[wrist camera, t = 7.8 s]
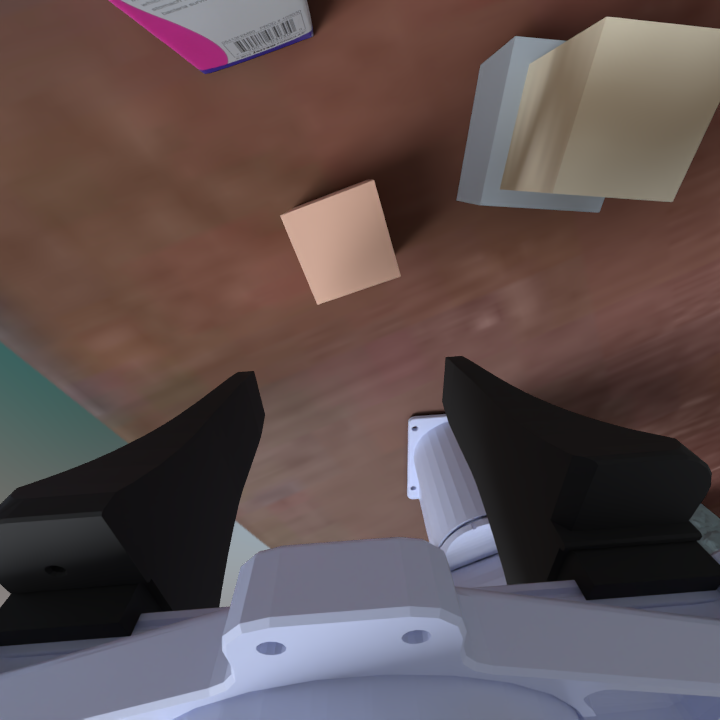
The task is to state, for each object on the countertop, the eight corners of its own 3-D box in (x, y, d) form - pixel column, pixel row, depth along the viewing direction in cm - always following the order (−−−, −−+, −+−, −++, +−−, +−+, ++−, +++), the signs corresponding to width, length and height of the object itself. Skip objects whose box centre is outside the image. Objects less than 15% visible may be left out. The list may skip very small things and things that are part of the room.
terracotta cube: (389, 257, 21) (400, 276, 17) (322, 281, 21) (317, 304, 17) (367, 179, 18) (374, 180, 15) (293, 207, 19) (280, 215, 15)
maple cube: (590, 195, 16) (672, 202, 12) (499, 189, 15) (552, 193, 12) (634, 74, 14) (751, 32, 10) (529, 64, 13) (606, 16, 9)
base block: (553, 206, 20) (599, 212, 16) (455, 200, 19) (479, 205, 16) (593, 76, 17) (659, 50, 13) (478, 66, 16) (515, 36, 13)
